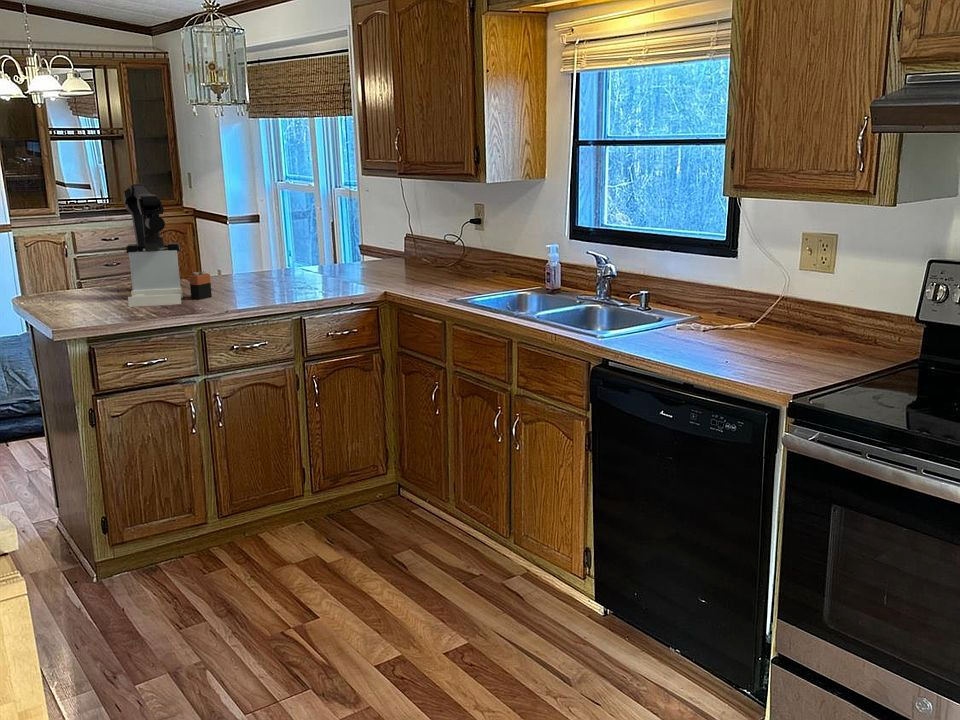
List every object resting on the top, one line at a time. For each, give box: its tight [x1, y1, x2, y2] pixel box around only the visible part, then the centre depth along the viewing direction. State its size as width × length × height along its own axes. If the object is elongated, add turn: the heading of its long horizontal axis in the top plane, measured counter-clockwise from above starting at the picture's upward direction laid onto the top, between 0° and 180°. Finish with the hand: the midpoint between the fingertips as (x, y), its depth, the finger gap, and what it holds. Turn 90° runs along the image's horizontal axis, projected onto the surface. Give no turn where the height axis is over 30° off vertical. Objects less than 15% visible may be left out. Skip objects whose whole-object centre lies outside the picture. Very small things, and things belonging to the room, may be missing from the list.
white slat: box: [127, 287, 183, 308], centre depth 320 cm, size 14×18×4 cm
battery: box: [188, 271, 212, 300], centre depth 327 cm, size 4×7×10 cm, turn 151°
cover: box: [128, 250, 181, 291], centre depth 325 cm, size 14×17×1 cm
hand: (155, 270), depth 327 cm, fingers closed, pressing on cover
